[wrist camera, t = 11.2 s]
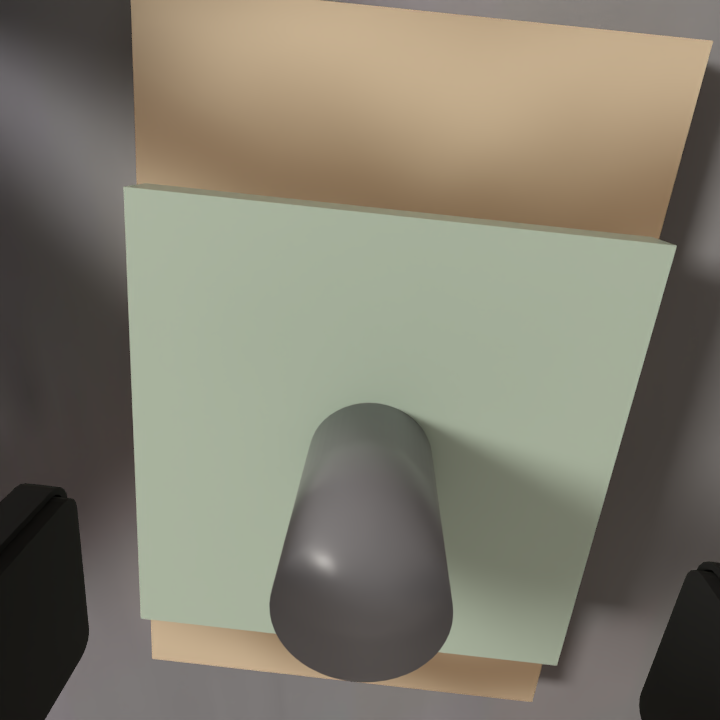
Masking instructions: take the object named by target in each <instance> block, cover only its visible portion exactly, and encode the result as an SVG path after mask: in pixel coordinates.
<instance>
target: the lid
mask: <svg viewBox="0 0 720 720" xmlns="http://www.w3.org/2000/svg"><path fill="white" fill-rule="evenodd" d="M123 188H124V213H125V237H126V262H127V287H128V312H129V336H130V361H131V386H132V411H133V436H134V460H135V485H136V510H137V535H138V560H139V584H140V609H141V619H150V620H159V621H168V622H177V623H185V624H194V625H203V626H212V627H221V628H229V629H238V630H247V631H256V632H265V633H274V634H276V635H277V636H278V638H279V640H280V641H281V643H282V644H283V646H284V647H285V648H286V649H287V650H288V651H289V652H290V653H291V654H292V655H293V656H294V657H295V658H296V659H297V660H299V661H300V662H301V663H303V664H304V665H306V666H307V667H309V668H311V669H313V670H315V671H317V672H319V673H321V674H324V675H326V676H329V677H332V678H336V679H340V680H345V681H351V682H378V681H386V680H390V679H394V678H398V677H401V676H403V675H406V674H409V673H411V672H413V671H415V670H417V669H418V668H420V667H421V666H423V665H424V664H426V663H427V662H428V661H429V660H431V659H432V658H433V657H434V656H435V655H436V654H437V653H438V652H441V653H450V654H459V655H467V656H476V657H485V658H494V659H503V660H512V661H520V662H529V663H538V664H547V665H556V666H557V663H558V660H559V656H560V653H561V649H562V646H563V642H564V639H565V635H566V632H567V628H568V625H569V621H570V618H571V614H572V611H573V607H574V604H575V600H576V597H577V593H578V590H579V586H580V583H581V579H582V576H583V572H584V569H585V565H586V562H587V559H588V555H589V552H590V548H591V545H592V541H593V538H594V534H595V531H596V527H597V524H598V520H599V517H600V513H601V510H602V506H603V503H604V499H605V496H606V492H607V489H608V485H609V482H610V478H611V475H612V471H613V468H614V464H615V461H616V457H617V454H618V450H619V447H620V443H621V440H622V436H623V433H624V429H625V426H626V422H627V419H628V415H629V412H630V408H631V405H632V401H633V398H634V394H635V391H636V387H637V384H638V380H639V377H640V373H641V370H642V366H643V363H644V359H645V356H646V352H647V349H648V345H649V342H650V338H651V335H652V331H653V328H654V324H655V321H656V317H657V314H658V310H659V307H660V303H661V300H662V296H663V293H664V289H665V286H666V282H667V279H668V275H669V272H670V268H671V265H672V261H673V258H674V254H675V251H676V247H677V246H676V245H674V244H671V243H668V242H665V241H662V240H659V239H657V238H654V237H647V236H638V235H628V234H619V233H610V232H600V231H591V230H581V229H572V228H563V227H553V226H544V225H534V224H525V223H516V222H506V221H497V220H487V219H478V218H469V217H459V216H450V215H440V214H431V213H422V212H412V211H403V210H394V209H384V208H375V207H365V206H356V205H347V204H337V203H328V202H318V201H309V200H300V199H290V198H281V197H271V196H262V195H253V194H243V193H234V192H224V191H215V190H206V189H196V188H187V187H177V186H168V185H159V184H149V183H143V184H137V185H131V186H125V187H123Z"/></svg>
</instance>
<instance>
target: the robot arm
mask: <svg viewBox="0 0 720 720" xmlns="http://www.w3.org/2000/svg"><path fill="white" fill-rule="evenodd" d="M88 636H89V625H88V615H87V605H86V594H85V584H84V574H83V564H82V554H81V544H80V533H79V523H78V513H77V505H76V502H75V501H74V499H71V498H67V494H66V492H65V490H64V489H62V488H60V487H52V486H44V485H35V484H26V483H25V484H20V485H19V486H18V487H16V488H15V489H14V490H13V491H12V492H11V493H10V494H8V495H7V496H6V497H5V498H4V499H3V500H2V501H1V502H0V720H45V718H46V717H47V715H48V713H49V712H50V710H51V708H52V706H53V705H54V703H55V701H56V700H57V698H58V696H59V695H60V693H61V691H62V689H63V688H64V686H65V684H66V683H67V681H68V679H69V678H70V676H71V674H72V672H73V671H74V669H75V667H76V666H77V664H78V662H79V661H80V659H81V657H82V655H83V653H84V651H85V648H86V645H87V641H88ZM639 707H640V715H641V719H642V720H720V563H716V562H703V563H702V564H701V565H700V566H699V567H698V569H697V570H691V571H690V572H689V573H688V574H687V576H686V578H685V580H684V583H683V586H682V588H681V591H680V593H679V596H678V599H677V601H676V604H675V606H674V609H673V612H672V614H671V617H670V619H669V622H668V625H667V627H666V630H665V632H664V635H663V638H662V640H661V643H660V645H659V648H658V651H657V653H656V656H655V658H654V661H653V664H652V666H651V669H650V671H649V674H648V677H647V679H646V682H645V684H644V687H643V690H642V692H641V695H640V702H639Z"/></svg>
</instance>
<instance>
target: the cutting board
mask: <svg viewBox="0 0 720 720" xmlns="http://www.w3.org/2000/svg"><path fill="white" fill-rule="evenodd" d="M131 21H132V52H133V83H134V113H135V144H136V175H137V184H143V183H149V184H159V185H168V186H177V187H187V188H196V189H206V190H215V191H224V192H234V193H243V194H253V195H262V196H271V197H281V198H290V199H300V200H309V201H318V202H328V203H337V204H347V205H356V206H365V207H375V208H384V209H394V210H403V211H412V212H422V213H431V214H440V215H450V216H459V217H469V218H478V219H487V220H497V221H506V222H516V223H525V224H534V225H544V226H553V227H563V228H572V229H581V230H591V231H600V232H610V233H619V234H628V235H638V236H647V237H654V238H657V239H659V237H660V233H661V230H662V226H663V222H664V219H665V215H666V211H667V208H668V204H669V200H670V197H671V193H672V190H673V186H674V182H675V179H676V175H677V171H678V168H679V164H680V160H681V157H682V153H683V149H684V146H685V142H686V138H687V135H688V131H689V128H690V124H691V120H692V117H693V113H694V109H695V106H696V102H697V98H698V95H699V91H700V87H701V84H702V80H703V76H704V73H705V69H706V66H707V62H708V58H709V55H710V51H711V47H712V44H713V41H709V40H700V39H690V38H680V37H671V36H661V35H651V34H642V33H632V32H622V31H612V30H603V29H593V28H583V27H574V26H564V25H554V24H545V23H535V22H525V21H516V20H506V19H496V18H487V17H477V16H467V15H458V14H448V13H438V12H428V11H419V10H409V9H399V8H390V7H380V6H370V5H361V4H351V3H341V2H332V1H322V0H131ZM151 634H152V659H160V660H168V661H177V662H186V663H195V664H203V665H212V666H221V667H230V668H238V669H247V670H256V671H265V672H273V673H282V674H291V675H300V676H309V677H317V678H326V679H335V680H340V679H336V678H332V677H329V676H326V675H324V674H321V673H319V672H317V671H315V670H313V669H311V668H309V667H307V666H306V665H304V664H303V663H301V662H300V661H299V660H297V659H296V658H295V657H294V656H293V655H292V654H291V653H290V652H289V651H288V650H287V649H286V648H285V647H284V646H283V644H282V643H281V641H280V640H279V638H278V636H277V635H276V634H274V633H265V632H256V631H247V630H238V629H229V628H221V627H212V626H203V625H194V624H185V623H177V622H168V621H159V620H151ZM541 667H542V664H538V663H529V662H520V661H512V660H503V659H494V658H485V657H476V656H467V655H459V654H450V653H441V652H438V653H437V654H436V655H435V656H434V657H433V658H432V659H431V660H429V661H428V662H427V663H426V664H424V665H423V666H421V667H420V668H418V669H417V670H415V671H413V672H411V673H409V674H406V675H403V676H401V677H398V678H394V679H390V680H386V681H378V682H361V683H370V684H379V685H387V686H396V687H405V688H414V689H423V690H431V691H440V692H449V693H458V694H466V695H475V696H484V697H493V698H501V699H510V700H519V701H528V702H532V700H533V697H534V693H535V689H536V686H537V682H538V678H539V675H540V671H541ZM344 681H345V680H344Z"/></svg>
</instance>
